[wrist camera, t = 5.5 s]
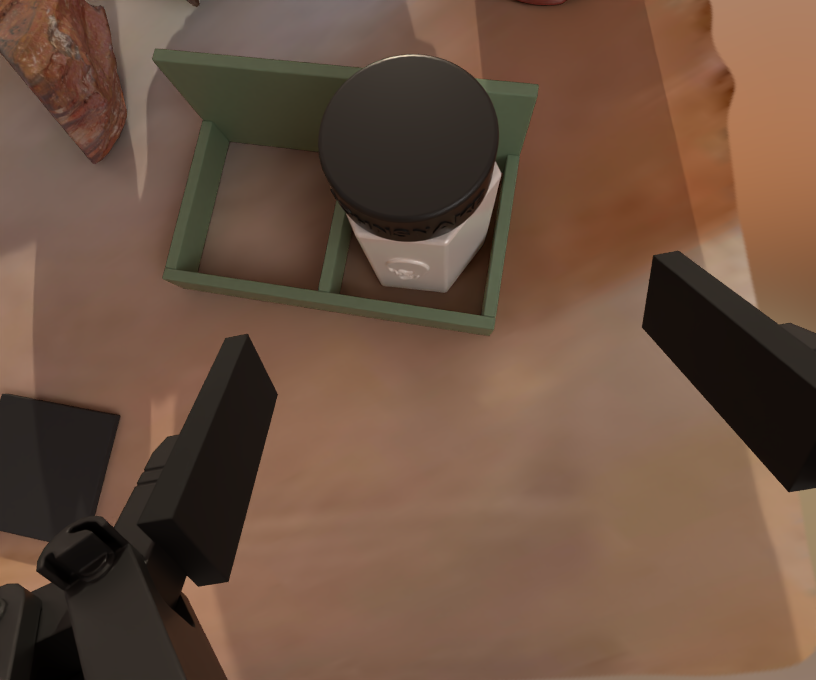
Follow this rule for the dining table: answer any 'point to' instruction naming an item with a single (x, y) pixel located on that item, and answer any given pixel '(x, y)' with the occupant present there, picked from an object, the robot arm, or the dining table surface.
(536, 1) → the flower pot
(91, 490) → the mat
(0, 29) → the stone
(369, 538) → the dining table surface
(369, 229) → the jar
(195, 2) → the jug
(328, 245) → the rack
